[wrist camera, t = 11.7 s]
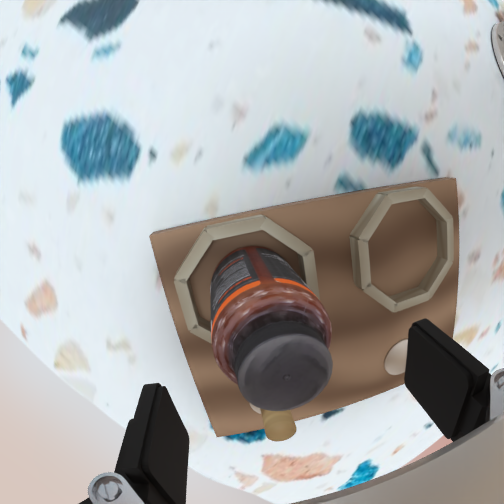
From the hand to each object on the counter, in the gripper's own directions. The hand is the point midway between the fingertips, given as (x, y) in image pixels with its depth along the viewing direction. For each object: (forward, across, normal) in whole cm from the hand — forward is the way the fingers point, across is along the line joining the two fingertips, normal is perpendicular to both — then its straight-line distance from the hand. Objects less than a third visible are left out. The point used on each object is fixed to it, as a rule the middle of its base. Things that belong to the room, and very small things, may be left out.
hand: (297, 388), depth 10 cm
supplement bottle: (+13, 0, 0) cm, 13 cm away
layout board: (+14, -6, +5) cm, 16 cm away
